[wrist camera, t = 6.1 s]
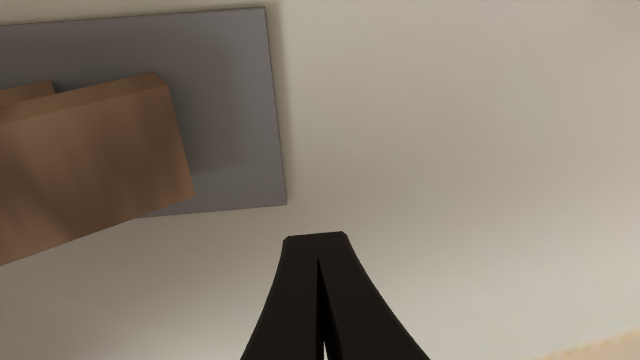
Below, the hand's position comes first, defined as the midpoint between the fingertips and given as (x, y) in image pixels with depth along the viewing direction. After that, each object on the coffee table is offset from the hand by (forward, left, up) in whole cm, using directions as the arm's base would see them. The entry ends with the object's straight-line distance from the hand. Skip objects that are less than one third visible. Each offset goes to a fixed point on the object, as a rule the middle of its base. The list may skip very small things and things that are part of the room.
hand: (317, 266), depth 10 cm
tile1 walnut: (0, +5, -7) cm, 9 cm away
